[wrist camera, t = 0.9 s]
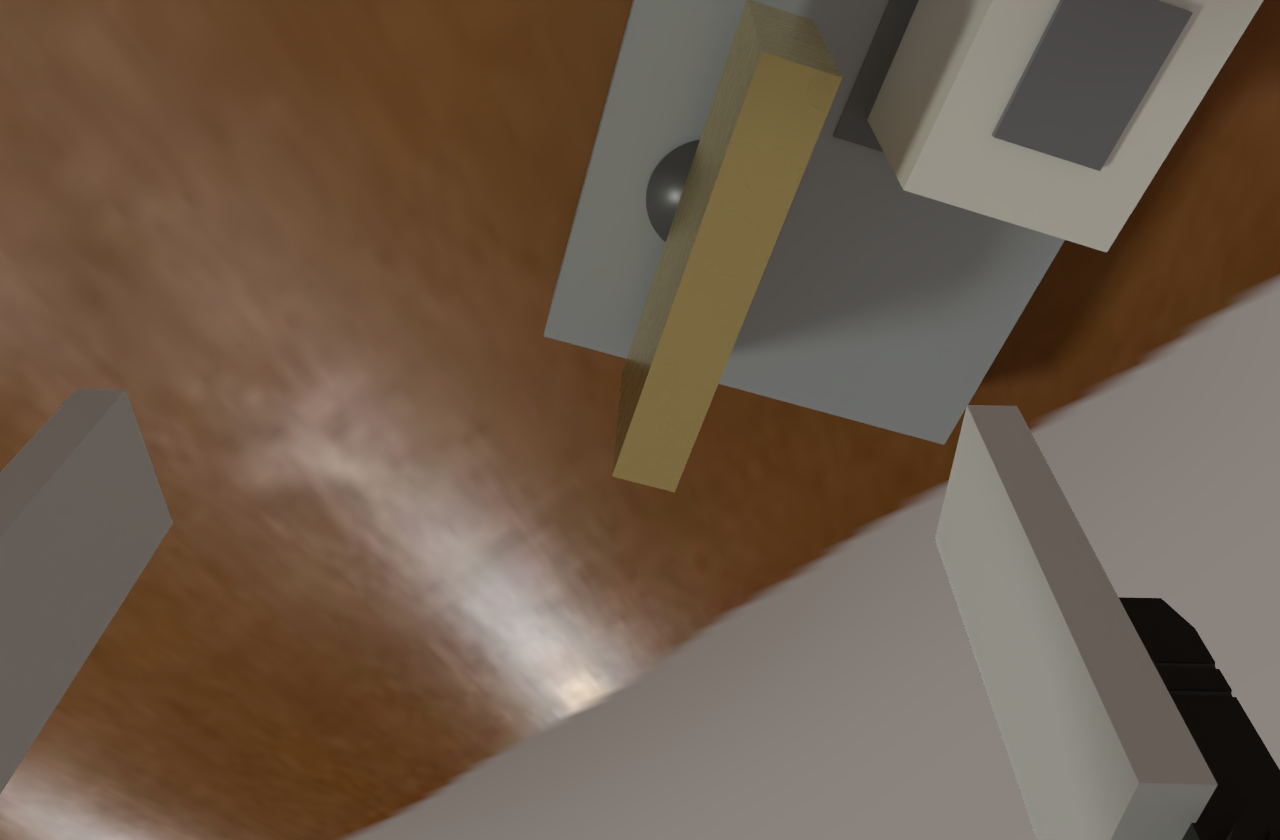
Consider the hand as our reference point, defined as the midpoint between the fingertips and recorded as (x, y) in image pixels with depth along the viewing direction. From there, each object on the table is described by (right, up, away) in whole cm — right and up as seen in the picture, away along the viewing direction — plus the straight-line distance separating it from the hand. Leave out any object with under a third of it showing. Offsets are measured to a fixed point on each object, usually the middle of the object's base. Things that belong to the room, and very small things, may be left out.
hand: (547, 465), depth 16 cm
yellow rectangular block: (+4, +8, +16) cm, 19 cm away
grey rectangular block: (+13, +13, +13) cm, 22 cm away
